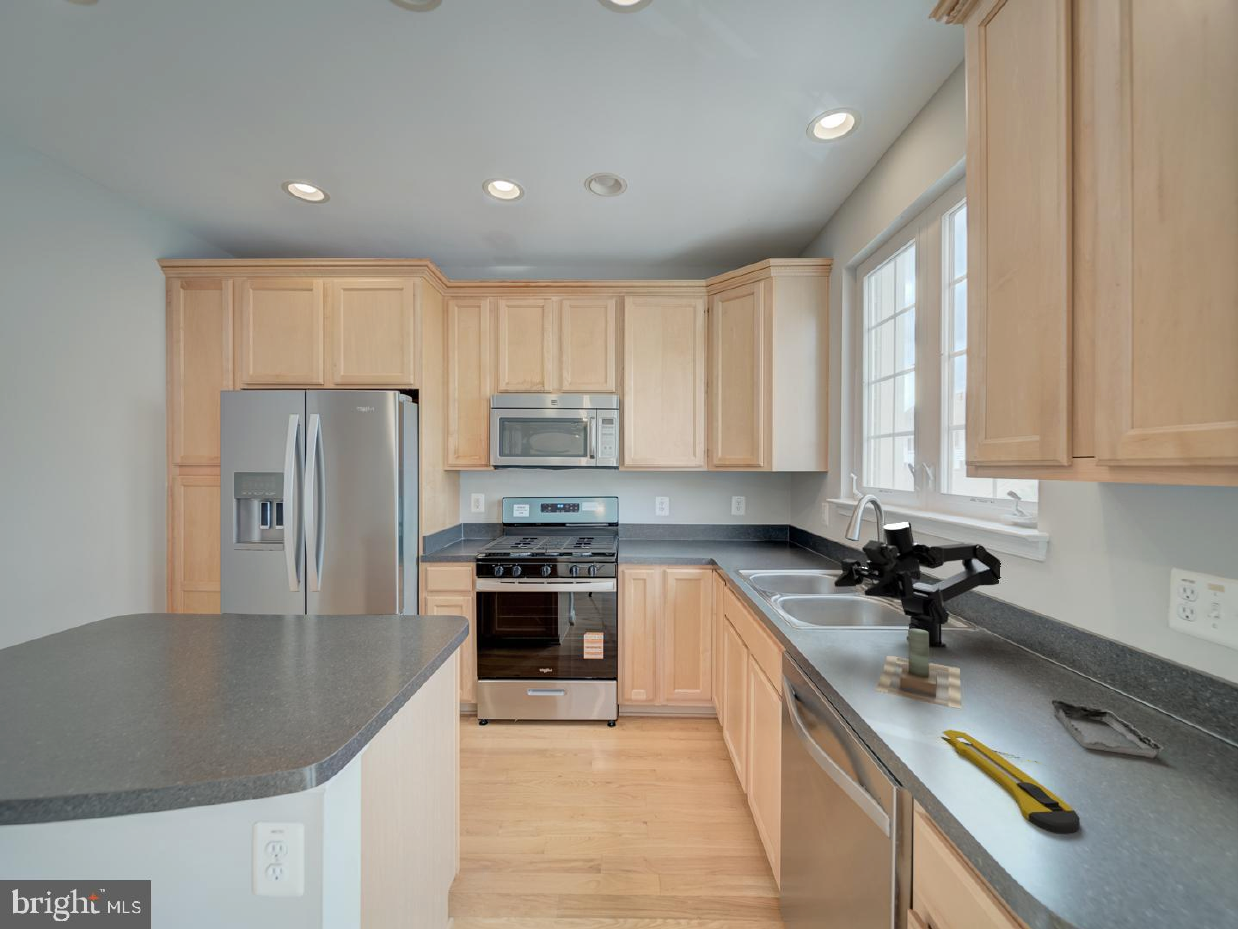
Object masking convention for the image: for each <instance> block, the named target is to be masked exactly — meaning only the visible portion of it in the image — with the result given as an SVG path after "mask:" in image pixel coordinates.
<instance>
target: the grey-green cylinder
mask: <svg viewBox="0 0 1238 929" xmlns="http://www.w3.org/2000/svg"><path fill="white" fill-rule="evenodd" d="M907 633H908V634H907V636H908V639H907V642H908V643H907V645H908V646H907V648H908V651H907V652H908V654H907V655H908V658H907V659H908V665H907V664H903V668H902V672H901V676H900V690H905V691H909V692H914V693H919V694H924V695H928V696H933V697H936V689H937V670H934V669H929V663H930V647H929V632H927V631H925V630H921V629H909V628H908V630H907Z"/></svg>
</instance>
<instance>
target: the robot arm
mask: <svg viewBox="0 0 1238 929" xmlns="http://www.w3.org/2000/svg"><path fill="white" fill-rule="evenodd" d="M883 532H884V536H885V542H886V543H885V542H883V541H879V540H872V539H871V540H869V541H868V542H866V544H865V545H864V546H863V547H862V548H861V550H862V552H863V553H864V554H865V555H866V558H867V559H868V560H866V561H865V563H866V567H864V566H862V563H861V562H860V561H859V560H857V559H850V558H845V559H843V560H841V561H840V565H841V570H842V573H841V574H840V575H839V576H838V578H837V579H836V580H835V581H834V583H833V584H834V586H835V587H836V588H840V587H841V588H845V587H847V588H849V587H850V588H851V587H857V586H859V585H861V584H863V582H864V579H869V580H870V581H871V583H872V584H871V586H869V587H868V588H866V589H865V590H864V595H865V596H866V597H868V596H870V597H880V598H881V597H882V598H893V599H894V598H895V599H900V604H901V606H902V610H903V613H904V616H907V617H909V618H910V622H909V623H908V630H909V629H921V630H925V631H927V632H929V648H930V647H933V648H934V647H947V644H946V642H943V641H942V638H943V637H942V625H945V624H946V623H948V621H949V617H950V613H949V612H948V611H947V609H945V607H944V604H945V603H947V602H948V601H950V600H953V599H955V598H957V597H960V596H961V595H963V594H965V593H967V592H969V591H971V590H973V589H976V588H978V587H979V586H995V585H1000V584H999V580H998V579H1000V578H1001V577H1000V567H1001V566H1000V565H1001V563H1002V561H1001V560H1000V559H999V558H998V557H996V556H995V555H993V554H992V553H990V552H988V550H987V549H986V548H985V547H984V546H983V545H982V544H978V543H972V542H967V541H964V542H961V543H956V544H955V543H954V544H952V543H951V544H943V545H928V544H923V543H917V542H915V541H914V536H913V532H912V524H911V522H906V521H902V522H897V523H888V524H885V525H883ZM956 561H961V565H962V566H963V567H964V570H963V571H960V572H959V573H956V574H954V575H952V576H949V577H947V578H945V579H943V580H941V581H939V582H936V583H935V584H928V583H925V582H920V580H921V578H922V576H921V572H922V571H921V570H920V569H921V568H926V569H927V568H928V569H930V570H934V569H937V568H941V567H942V566H944V564H945V563H947V562H956ZM1000 562H1001V563H1000ZM867 567H868V568H867ZM913 580H915V581H919V582H916V583H914V584H913ZM906 639H907V640H908V635H907V636H906Z"/></svg>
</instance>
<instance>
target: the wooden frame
mask: <svg viewBox="0 0 1238 929" xmlns="http://www.w3.org/2000/svg"><path fill="white" fill-rule="evenodd" d="M903 664H907V665H908V658H904V657H899V656H892V655H887V656H886V660H885V662H884V666H883V669H882V671H881V674H880V677H879V680H878V684H877V687H876V691H878V692H880V693H881V692H882V693H884V694H885V693H886V694H889V695H890V694H891V695H893V696H894V695H895V696H900V697H904V698H909V699H912V700H913V699H914V700H917V701H922V702H927V703H931V704H936V705H940V706H944V707H950V708H953V709H957V710H962V692H961V691H962V690H961V689H962V688H961V669H960V668H959V667H954V666H949V665H943V664H938V663H933V662H929V669H934V670H937V689H936V697H933V696H928V695H924V694H919V693H914V692H909V691H905V690H900V676H901V672H902V668H903Z"/></svg>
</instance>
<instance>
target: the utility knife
mask: <svg viewBox="0 0 1238 929" xmlns="http://www.w3.org/2000/svg"><path fill="white" fill-rule="evenodd" d="M941 733H942V734H943V735H945V736H946V737H944V736H940V738H941V739H942V740H944V741H945V742H946V743H947V744H949V745H950V746H951V747H953V748H954V749H955V750H956V752H957V753H958V754H959V755H961V756H962V757H965V758H967V759H968V760H969V761H971V762H972V763H973V764H975V765H976V766H977V767H979V769H981V770H982V771H983V772H984V773H986V774H987V775H988V776H990V777H991V778H992V779H994V780H995V781H996V782H998V784H1000V785H1001V786H1002V787H1003V788H1004V789H1005V790H1006V791H1007V792H1008V793H1009V794H1010V795H1011V796H1012V797H1013V799H1014V800H1015V801H1016V803H1017V804H1018V808H1019V809H1020V812H1021V815H1022V817H1024V818H1025V819H1027V820H1028V821H1029V822H1030V823H1032V824H1034V825H1035V826H1037V827H1039V828H1040V829H1043V830H1046V831H1048V832H1052V833H1056V834H1070V833H1076V832H1078V830H1079V829H1080V816H1079V815H1078V814H1077V811H1076V810H1074V809H1073V807H1072V806H1070V805H1069V804H1067V802H1065V801H1064V800H1063V799H1061V798H1060V797H1059V796H1057V795H1056V794H1055V793H1053V792H1052V791H1050V790H1049V789H1048V788H1046V787H1045V786H1044V785H1043V784H1041V783H1039V782H1038V781H1037V780H1035V779H1034V778H1033V777H1031V776H1030V775H1028V773H1025V772H1024V771H1023V770H1021V769H1020V768H1018V767H1017V766H1016V765H1014V764H1012V763H1011V762H1010V761H1008V759H1006V758H1004V757H1002V756H1001V755H1000V754H999V753H997V752H995V751H994V750H993V749H991V748H989V747H988V746H986V745H985V744H984V743H982V742H980V741H979V740H977V739H976V738H974V737H972V736H971V735H969V734H967V733H966V732H962V731H958V730H954V729H947V730H945V731H944V730H943V731H942V732H941ZM959 738H961V739H962V738H963V739H964V740H966V742H965V741H961V740H959Z"/></svg>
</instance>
